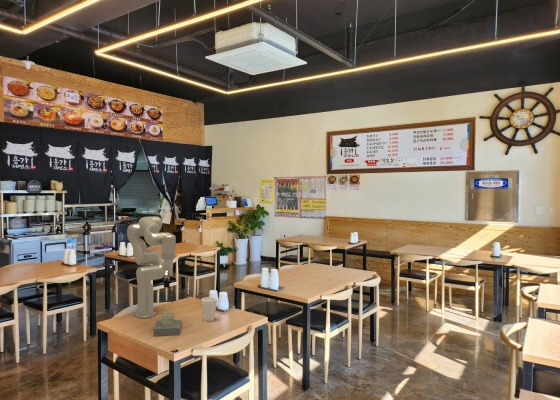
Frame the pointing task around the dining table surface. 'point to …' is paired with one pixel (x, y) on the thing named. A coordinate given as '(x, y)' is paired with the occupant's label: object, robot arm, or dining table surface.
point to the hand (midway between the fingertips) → (167, 285)
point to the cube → (167, 318)
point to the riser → (167, 328)
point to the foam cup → (209, 308)
